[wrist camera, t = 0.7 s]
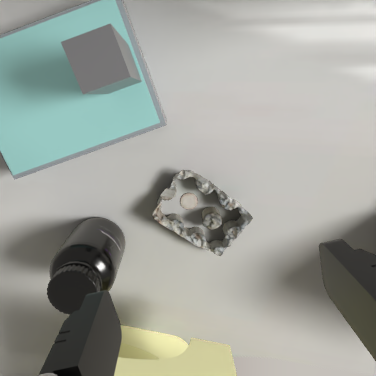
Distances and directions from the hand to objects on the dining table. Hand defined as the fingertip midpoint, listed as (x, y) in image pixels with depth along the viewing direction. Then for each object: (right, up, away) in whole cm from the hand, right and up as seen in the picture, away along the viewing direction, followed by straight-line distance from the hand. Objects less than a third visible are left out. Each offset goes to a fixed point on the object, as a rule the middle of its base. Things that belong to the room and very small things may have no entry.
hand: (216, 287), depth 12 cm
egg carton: (+1, +1, +30) cm, 30 cm away
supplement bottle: (-13, -3, +31) cm, 33 cm away
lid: (-13, +13, +21) cm, 28 cm away
